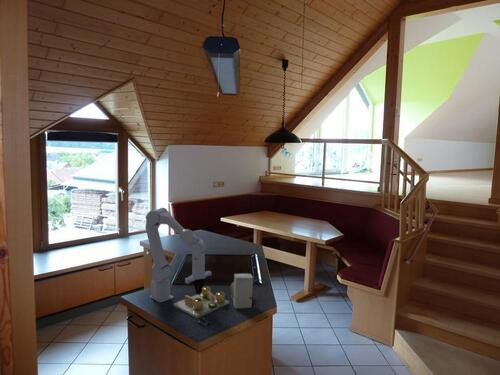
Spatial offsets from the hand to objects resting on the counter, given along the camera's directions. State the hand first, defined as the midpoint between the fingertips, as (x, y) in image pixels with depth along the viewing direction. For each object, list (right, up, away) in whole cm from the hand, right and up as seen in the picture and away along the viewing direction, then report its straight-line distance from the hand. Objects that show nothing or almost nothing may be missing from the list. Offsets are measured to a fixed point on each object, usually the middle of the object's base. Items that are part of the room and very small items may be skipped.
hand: (198, 293), depth 168 cm
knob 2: (+4, -3, +4) cm, 7 cm away
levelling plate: (+1, -5, 0) cm, 5 cm away
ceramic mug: (+19, -5, +9) cm, 21 cm away
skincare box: (+21, -6, 0) cm, 22 cm away
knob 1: (-2, -4, -4) cm, 6 cm away
